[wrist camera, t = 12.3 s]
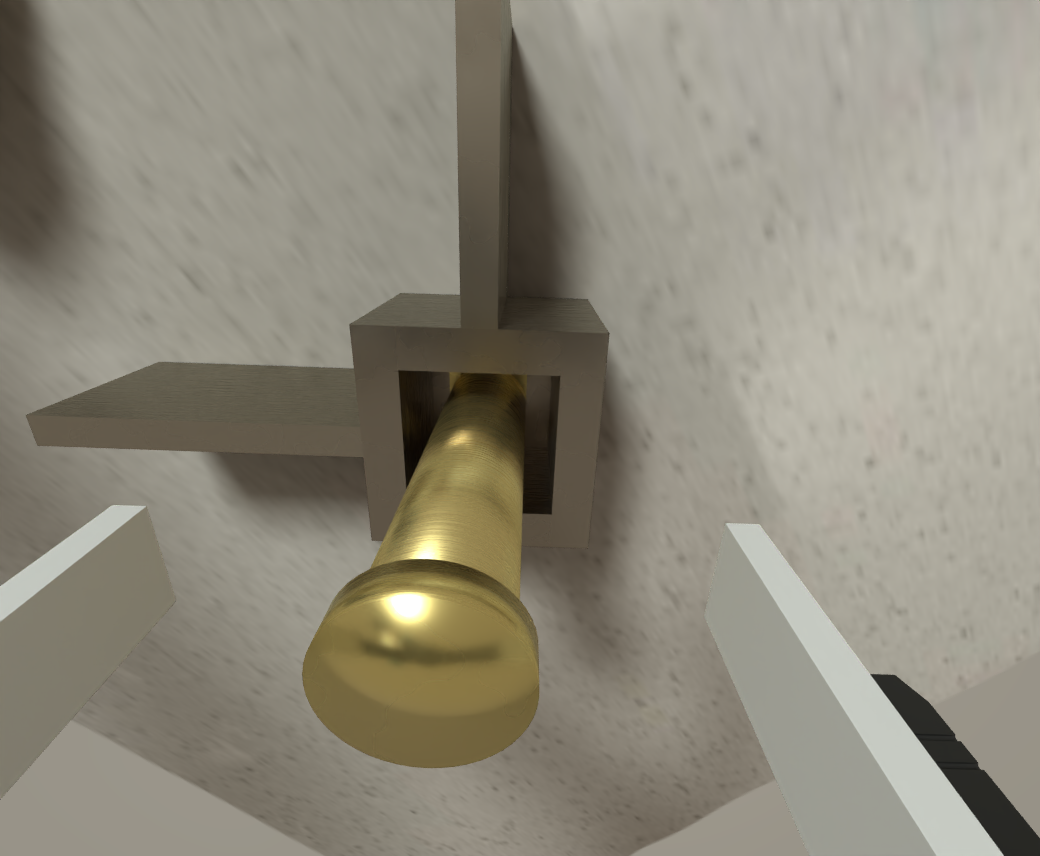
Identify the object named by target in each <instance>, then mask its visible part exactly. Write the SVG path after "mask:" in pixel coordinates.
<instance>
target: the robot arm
mask: <svg viewBox="0 0 1040 856" xmlns="http://www.w3.org/2000/svg"><path fill="white" fill-rule="evenodd" d="M175 602H176V598H175V595H174V592H173V589H172V586H171V582H170V579H169V576H168V573H167V570H166V567H165V563H164V560H163V557H162V554H161V551H160V548H159V544H158V541H157V538H156V535H155V532H154V529H153V525H152V522H151V519H150V516H149V513H148V510H147V506H125V505H112V506H111V507H109V508H108V509H106V510H105V511H104V512H102V513H101V514H100V515H98V516H97V517H95V518H94V519H93V520H91V521H90V522H88V523H87V524H86V525H84V526H83V527H82V528H80V529H79V530H77V531H76V532H75V533H73V534H72V535H70V536H69V537H68V538H66V539H65V540H64V541H62V542H61V543H59V544H58V545H57V546H55V547H54V548H53V549H51V550H50V551H48V552H47V553H46V554H44V555H43V556H41V557H40V558H39V559H37V560H36V561H35V562H33V563H32V564H30V565H29V566H28V567H26V568H25V569H23V570H22V571H21V572H19V573H18V574H17V575H15V576H14V577H12V578H11V579H10V580H8V581H7V582H6V583H4V584H3V585H1V586H0V800H1V798H2V797H3V796H4V795H5V794H6V792H8V791H9V789H10V788H11V787H12V786H13V785H14V784H15V783H16V782H17V780H18V779H19V778H20V777H21V776H22V775H23V774H24V772H25V771H26V770H27V769H28V768H29V767H30V766H31V765H32V763H33V762H34V761H35V760H36V759H37V758H38V757H39V756H40V754H41V753H42V752H43V751H44V750H45V749H46V748H47V746H48V745H49V744H50V743H51V742H52V741H53V740H54V739H55V737H56V736H57V735H58V734H59V733H60V732H61V731H62V729H63V728H64V727H65V726H66V725H67V724H68V723H69V722H70V720H71V719H72V718H73V717H74V716H75V715H76V714H77V713H78V711H79V710H80V709H81V708H82V707H83V706H84V705H85V704H86V702H87V701H88V700H89V699H90V698H91V697H92V696H93V694H94V693H95V692H96V691H97V690H98V689H99V688H100V687H101V685H102V684H103V683H104V682H105V681H106V680H107V679H108V678H109V676H110V675H111V674H112V673H113V672H114V671H115V670H116V668H117V667H118V666H119V665H120V664H121V663H122V662H123V661H124V659H125V658H126V657H127V656H128V655H129V654H130V653H131V652H132V650H133V649H134V648H135V647H136V646H137V645H138V644H139V642H140V641H141V640H142V639H143V638H144V637H145V636H146V635H147V633H148V632H149V631H150V630H151V629H152V628H153V627H154V626H155V624H156V623H157V622H158V621H159V620H160V619H161V618H162V616H163V615H164V614H165V613H166V612H167V611H168V610H169V609H170V607H171V606H172V605H173V604H174V603H175ZM704 617H705V619H706V621H707V624H708V626H709V628H710V631H711V633H712V635H713V637H714V640H715V642H716V644H717V647H718V649H719V651H720V653H721V656H722V658H723V660H724V663H725V665H726V667H727V669H728V672H729V674H730V676H731V678H732V681H733V683H734V685H735V688H736V690H737V692H738V694H739V697H740V699H741V701H742V704H743V706H744V708H745V710H746V713H747V715H748V717H749V720H750V722H751V724H752V726H753V729H754V731H755V733H756V736H757V738H758V740H759V742H760V745H761V747H762V749H763V752H764V754H765V756H766V758H767V761H768V763H769V765H770V767H771V770H772V772H773V774H774V777H775V779H776V781H777V783H778V786H779V788H780V790H781V793H782V795H783V797H784V799H785V802H786V804H787V806H788V808H789V811H790V813H791V815H792V818H793V820H794V822H795V825H796V827H797V829H798V831H799V834H800V836H801V838H802V840H803V843H804V845H805V847H806V850H807V852H808V854H809V856H1040V838H1039V837H1038V836H1037V834H1036V833H1035V832H1034V831H1033V829H1032V828H1031V827H1030V826H1029V825H1028V823H1027V822H1026V821H1025V820H1024V818H1023V817H1022V816H1021V815H1020V813H1019V812H1018V811H1017V810H1016V809H1015V807H1014V806H1013V805H1012V804H1011V802H1010V801H1009V800H1008V799H1007V798H1006V796H1005V795H1004V794H1003V793H1002V791H1001V790H1000V789H999V788H998V786H997V785H996V784H995V783H994V782H993V781H992V779H991V778H990V777H989V776H988V774H987V773H986V772H985V771H984V770H981V769H980V768H979V767H978V762H977V761H976V760H975V758H974V757H973V756H972V755H971V753H970V752H969V751H968V750H967V749H966V747H965V746H964V745H963V744H962V742H961V741H957V740H956V738H955V734H954V733H953V731H952V730H951V729H950V728H949V726H948V725H947V724H946V723H945V721H944V720H943V719H942V718H941V717H940V716H939V714H938V713H937V712H936V710H935V709H934V708H933V707H932V706H931V704H930V703H929V702H928V701H927V700H925V699H924V698H923V697H922V696H920V695H919V694H918V693H917V692H915V691H914V690H913V689H912V688H910V687H909V686H908V685H907V684H905V683H904V682H903V681H902V680H901V679H899V678H898V677H897V676H896V675H880V674H869V672H868V671H867V670H866V668H865V667H864V666H863V664H862V663H861V661H860V660H859V659H858V657H857V656H856V655H855V653H854V652H853V651H852V649H851V648H850V647H849V645H848V644H847V642H846V641H845V640H844V638H843V637H842V636H841V634H840V633H839V632H838V630H837V629H836V628H835V626H834V625H833V624H832V622H831V621H830V619H829V618H828V617H827V615H826V614H825V613H824V611H823V610H822V609H821V607H820V606H819V605H818V603H817V602H816V601H815V599H814V598H813V596H812V595H811V594H810V592H809V591H808V590H807V588H806V587H805V586H804V584H803V583H802V582H801V580H800V579H799V577H798V576H797V575H796V573H795V572H794V571H793V569H792V568H791V567H790V565H789V564H788V563H787V561H786V560H785V559H784V557H783V556H782V554H781V553H780V552H779V550H778V549H777V548H776V546H775V545H774V544H773V542H772V541H771V540H770V538H769V537H768V536H767V534H766V533H765V531H764V530H763V529H762V527H761V526H760V525H759V524H731V523H726V524H725V528H724V532H723V537H722V541H721V545H720V550H719V554H718V559H717V563H716V567H715V572H714V576H713V580H712V585H711V589H710V593H709V598H708V602H707V606H706V611H705V615H704Z"/></svg>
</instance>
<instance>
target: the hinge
mask: <svg viewBox="0 0 1040 856" xmlns="http://www.w3.org/2000/svg"><path fill="white" fill-rule="evenodd" d="M455 14H456V73H457V133H458V192H459V251H460V295H439V294H409V293H400V294H399V295H397V296H395V297H394V298H392V299H390V300H389V301H387V302H385V303H384V304H382V305H381V306H379V307H377V308H376V309H374V310H372V311H371V312H369V313H367V314H366V315H364V316H363V317H361V318H359V319H358V320H356V321H354V322H353V323H351V324H349V325H350V335H351V344H352V354H353V364H354V369H347V368H318V367H289V366H260V365H231V364H203V363H174V362H158V363H155V364H153V365H150V366H148V367H145V368H143V369H140V370H138V371H135V372H133V373H130V374H128V375H125V376H123V377H120V378H118V379H115V380H113V381H110V382H108V383H105V384H103V385H100V386H98V387H95V388H93V389H90V390H88V391H85V392H83V393H80V394H78V395H75V396H73V397H70V398H68V399H65V400H63V401H60V402H58V403H55V404H53V405H50V406H48V407H45V408H43V409H40V410H37V411H35V412H32V413H30V414H27V415H26V417H27V420H28V422H29V425H30V428H31V430H32V433H33V435H34V438H35V441H36V443H37V446H63V447H91V448H118V449H146V450H174V451H201V452H229V453H257V454H284V455H312V456H340V457H363V460H364V470H365V479H366V489H367V499H368V508H369V518H370V528H371V537H372V541H383V540H384V537H385V535H386V533H387V531H388V529H389V526H390V524H391V522H392V520H393V518H394V515H395V513H396V511H397V509H398V507H399V504H400V502H401V500H402V498H403V496H404V493H405V491H406V489H407V487H408V485H409V482H410V480H411V478H412V476H413V474H414V471H415V469H416V467H417V465H418V463H419V460H420V458H421V456H422V454H423V452H424V449H425V447H426V445H427V443H428V441H429V438H430V436H431V434H432V432H433V430H434V427H435V425H436V423H437V421H438V419H439V416H440V414H441V412H442V410H443V408H444V405H445V403H446V401H447V399H448V397H449V394H450V375H449V372H462V373H490V374H519V375H527V389H526V416H525V448H524V479H523V511H522V542H521V546H532V547H558V548H585V549H588V543H589V533H590V523H591V513H592V503H593V493H594V483H595V473H596V463H597V453H598V443H599V433H600V423H601V413H602V403H603V393H604V383H605V373H606V363H607V353H608V343H609V332H608V330H607V329H606V327H605V326H604V324H603V323H602V321H601V319H600V318H599V316H598V315H597V313H596V312H595V310H594V309H593V307H592V305H591V304H590V302H589V301H588V299H559V298H529V297H507V281H508V228H509V175H510V123H511V70H512V17H511V8H510V0H455Z"/></svg>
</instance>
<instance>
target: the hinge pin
mask: <svg viewBox="0 0 1040 856" xmlns="http://www.w3.org/2000/svg"><path fill="white" fill-rule="evenodd" d="M449 375H450V394H449V397H448V399H447V401H446V403H445V405H444V408H443V410H442V412H441V414H440V416H439V419H438V421H437V423H436V425H435V427H434V430H433V432H432V434H431V436H430V438H429V441H428V443H427V445H426V447H425V449H424V452H423V454H422V456H421V458H420V460H419V463H418V465H417V467H416V469H415V471H414V474H413V476H412V478H411V480H410V482H409V485H408V487H407V489H406V491H405V493H404V496H403V498H402V500H401V502H400V504H399V507H398V509H397V511H396V513H395V515H394V518H393V520H392V522H391V524H390V526H389V529H388V531H387V533H386V535H385V537H384V540H383V542H382V544H381V546H380V548H379V551H378V553H377V555H376V557H375V559H374V562H373V564H372V566H371V568H370V569H369V570H367V571H365V572H364V573H362V574H360V575H358V576H357V577H355V578H354V579H353V580H351V581H350V582H348V583H347V584H346V585H345V586H344V587H343V588H342V589H341V590H340V591H339V593H338V594H337V595H336V597H335V598H334V600H333V601H332V603H331V605H330V607H329V609H328V611H327V613H326V615H325V617H324V619H323V621H322V623H321V625H320V626H319V628H318V630H317V632H316V634H315V636H314V638H313V640H312V642H311V644H310V646H309V648H308V650H307V652H306V655H305V659H304V663H303V672H302V676H303V686H304V690H305V693H306V697H307V699H308V701H309V703H310V705H311V707H312V709H313V710H314V712H315V714H316V715H317V717H318V718H319V719H320V720H321V721H322V723H323V724H324V725H325V726H326V727H327V728H328V729H329V730H330V731H331V732H332V733H333V734H335V735H336V736H337V737H338V738H340V739H341V740H343V741H344V742H345V743H347V744H348V745H350V746H352V747H354V748H355V749H357V750H359V751H361V752H363V753H365V754H368V755H370V756H372V757H375V758H378V759H381V760H383V761H387V762H391V763H395V764H399V765H405V766H410V767H421V768H445V767H455V766H461V765H466V764H470V763H474V762H477V761H481V760H483V759H486V758H488V757H491V756H493V755H495V754H497V753H498V752H500V751H502V750H504V749H505V748H507V747H508V746H509V745H511V744H512V743H513V742H515V741H516V740H517V739H518V738H519V737H520V736H521V735H522V734H523V733H524V731H525V730H526V729H527V728H528V726H529V724H530V723H531V721H532V719H533V717H534V715H535V712H536V709H537V706H538V700H539V652H538V636H537V631H536V628H535V625H534V623H533V620H532V618H531V616H530V614H529V613H528V611H527V609H526V608H525V606H524V605H523V604H522V602H521V601H520V573H521V542H522V511H523V479H524V448H525V416H526V389H527V375H519V374H490V373H462V372H449Z"/></svg>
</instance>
